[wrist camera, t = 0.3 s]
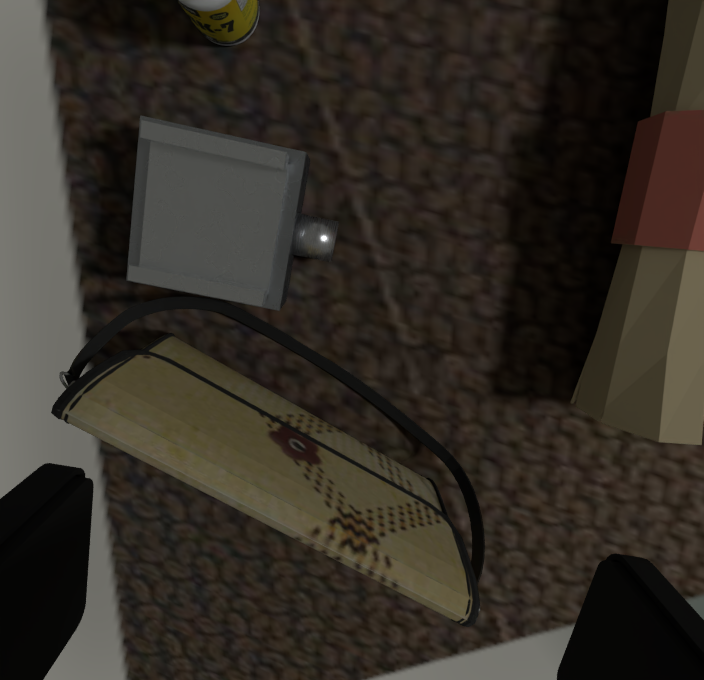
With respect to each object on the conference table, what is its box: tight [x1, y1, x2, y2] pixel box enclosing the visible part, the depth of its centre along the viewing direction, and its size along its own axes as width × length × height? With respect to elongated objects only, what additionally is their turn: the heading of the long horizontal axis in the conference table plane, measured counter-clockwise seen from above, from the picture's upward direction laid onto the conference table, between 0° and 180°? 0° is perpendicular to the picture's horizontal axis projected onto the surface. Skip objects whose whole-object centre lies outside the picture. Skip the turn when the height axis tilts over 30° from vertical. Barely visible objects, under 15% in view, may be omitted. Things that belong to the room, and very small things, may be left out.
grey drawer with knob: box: [126, 116, 339, 311], centre depth 33 cm, size 11×14×6 cm
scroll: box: [570, 0, 704, 445], centre depth 32 cm, size 11×34×10 cm, turn 175°
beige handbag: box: [51, 297, 485, 627], centre depth 32 cm, size 30×7×15 cm, turn 58°
